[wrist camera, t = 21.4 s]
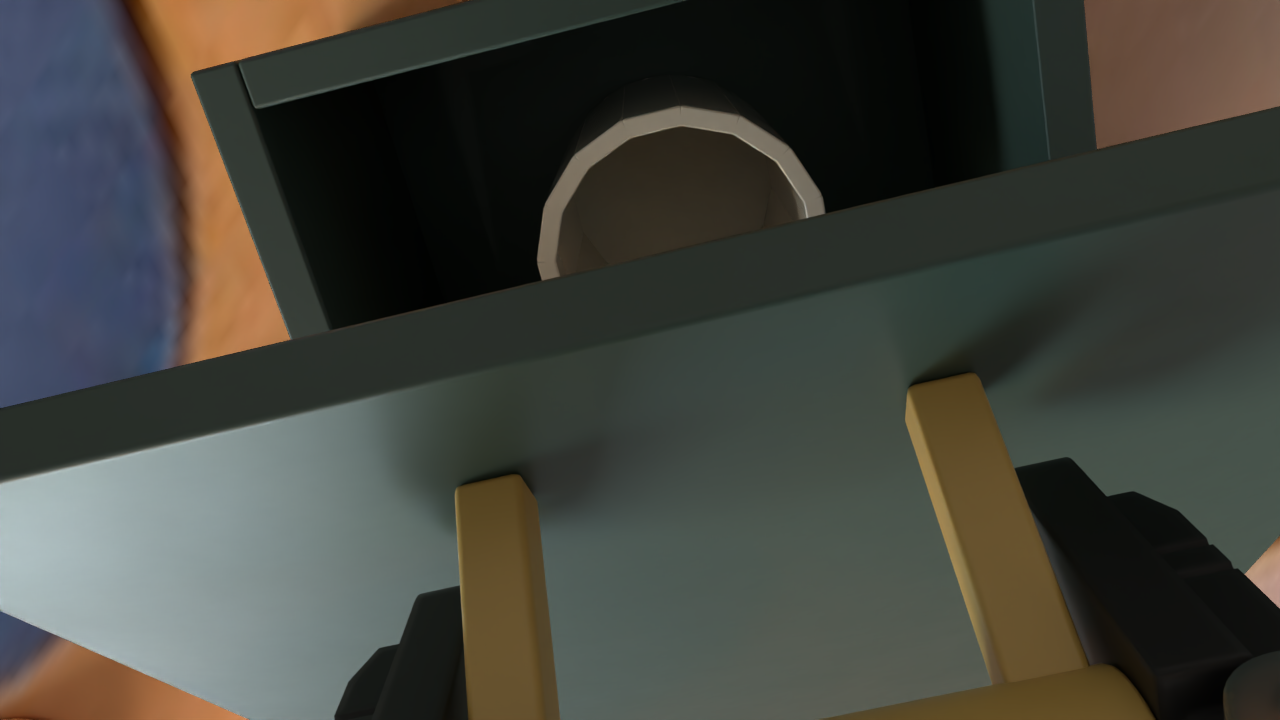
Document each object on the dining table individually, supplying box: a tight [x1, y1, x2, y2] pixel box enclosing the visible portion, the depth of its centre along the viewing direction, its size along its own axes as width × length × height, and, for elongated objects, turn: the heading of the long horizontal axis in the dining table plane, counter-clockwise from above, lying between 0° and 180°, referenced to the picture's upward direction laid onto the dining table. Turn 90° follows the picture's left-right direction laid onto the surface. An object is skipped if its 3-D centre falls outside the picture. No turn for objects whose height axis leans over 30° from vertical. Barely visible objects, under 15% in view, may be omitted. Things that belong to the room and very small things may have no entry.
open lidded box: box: [191, 0, 1097, 340], centre depth 25 cm, size 16×16×10 cm
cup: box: [537, 74, 826, 280], centre depth 25 cm, size 6×6×8 cm
